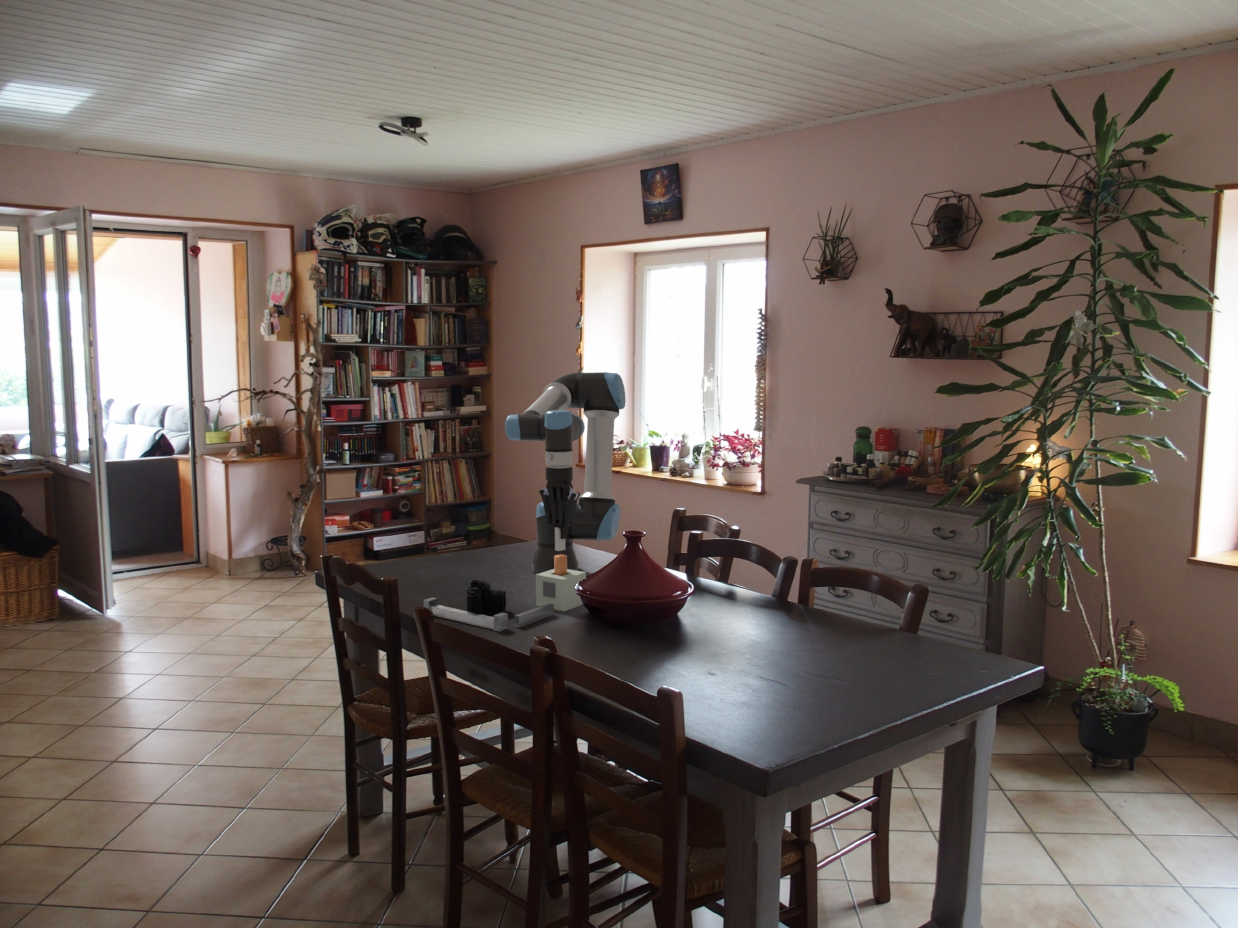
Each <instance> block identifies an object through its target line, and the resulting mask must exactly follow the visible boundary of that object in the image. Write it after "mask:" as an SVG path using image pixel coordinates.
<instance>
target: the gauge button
mask: <svg viewBox="0 0 1238 928" xmlns="http://www.w3.org/2000/svg"><path fill="white" fill-rule="evenodd" d="M554 575H559V576H564V575H567V555H555V556H554Z"/></svg>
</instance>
